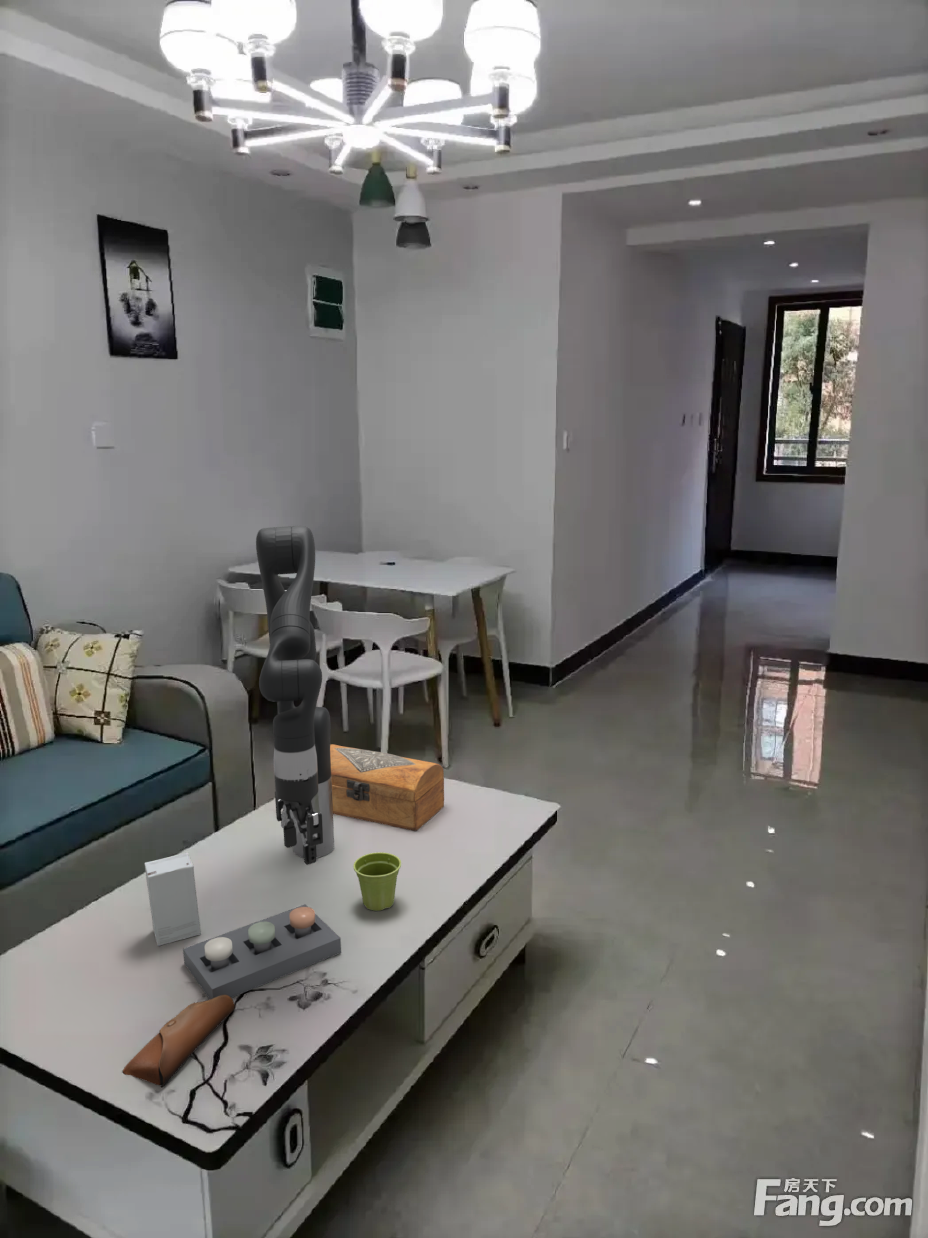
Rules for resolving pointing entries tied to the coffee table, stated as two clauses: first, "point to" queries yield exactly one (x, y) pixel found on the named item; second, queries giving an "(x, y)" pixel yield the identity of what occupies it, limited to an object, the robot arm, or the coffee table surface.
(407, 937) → the coffee table surface
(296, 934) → the terracotta button
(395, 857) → the plant pot
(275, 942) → the console
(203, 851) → the coffee table surface
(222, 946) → the ivory button
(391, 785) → the wooden box
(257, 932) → the sage button
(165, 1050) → the sunglasses case
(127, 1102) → the coffee table surface
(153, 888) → the skincare box
